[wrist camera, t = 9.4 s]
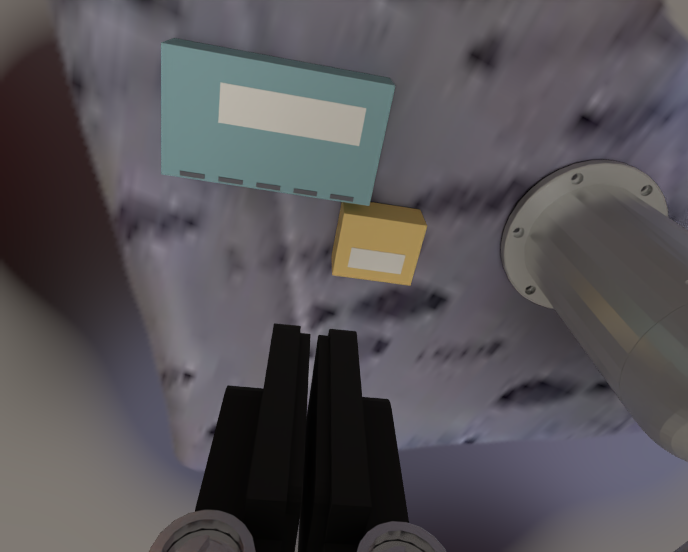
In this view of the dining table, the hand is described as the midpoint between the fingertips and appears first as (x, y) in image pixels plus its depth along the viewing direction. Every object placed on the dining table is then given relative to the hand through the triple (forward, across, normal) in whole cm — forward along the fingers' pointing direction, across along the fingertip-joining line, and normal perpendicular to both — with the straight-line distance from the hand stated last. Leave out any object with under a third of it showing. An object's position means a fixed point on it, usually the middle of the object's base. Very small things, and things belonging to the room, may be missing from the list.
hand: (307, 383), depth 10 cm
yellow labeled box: (+28, -5, +9) cm, 29 cm away
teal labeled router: (+28, +3, +1) cm, 28 cm away
